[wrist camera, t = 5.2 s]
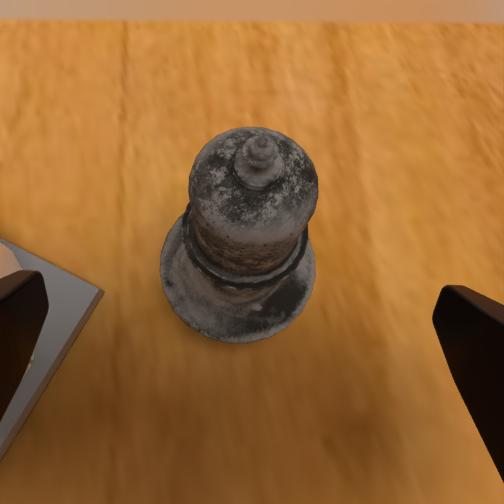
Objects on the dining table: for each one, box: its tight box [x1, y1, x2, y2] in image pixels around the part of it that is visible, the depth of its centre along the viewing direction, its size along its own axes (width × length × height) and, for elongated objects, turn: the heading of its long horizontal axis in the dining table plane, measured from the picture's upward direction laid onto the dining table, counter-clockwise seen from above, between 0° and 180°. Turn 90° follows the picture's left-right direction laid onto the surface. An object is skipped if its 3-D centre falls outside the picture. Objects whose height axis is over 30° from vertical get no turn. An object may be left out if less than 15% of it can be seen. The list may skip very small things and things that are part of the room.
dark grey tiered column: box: [160, 127, 318, 343], centre depth 13 cm, size 6×6×12 cm
